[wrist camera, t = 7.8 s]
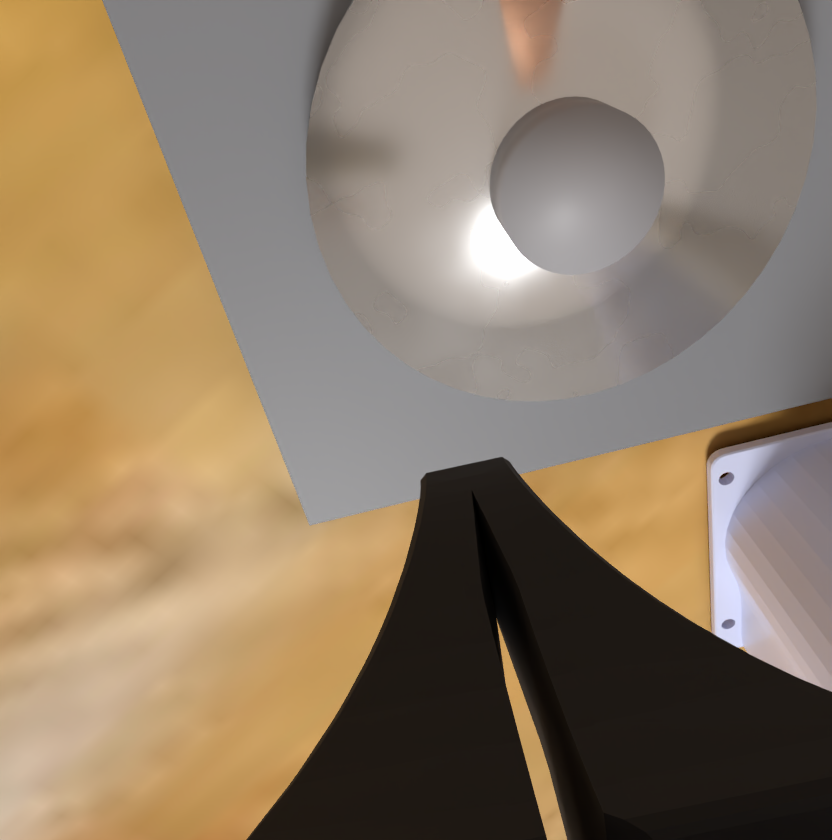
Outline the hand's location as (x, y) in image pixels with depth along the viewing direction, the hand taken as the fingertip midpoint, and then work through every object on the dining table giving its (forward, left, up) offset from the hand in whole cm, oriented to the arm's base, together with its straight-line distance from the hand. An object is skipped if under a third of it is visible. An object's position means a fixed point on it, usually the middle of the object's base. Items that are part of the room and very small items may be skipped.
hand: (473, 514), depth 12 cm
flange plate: (+4, -4, -9) cm, 11 cm away
